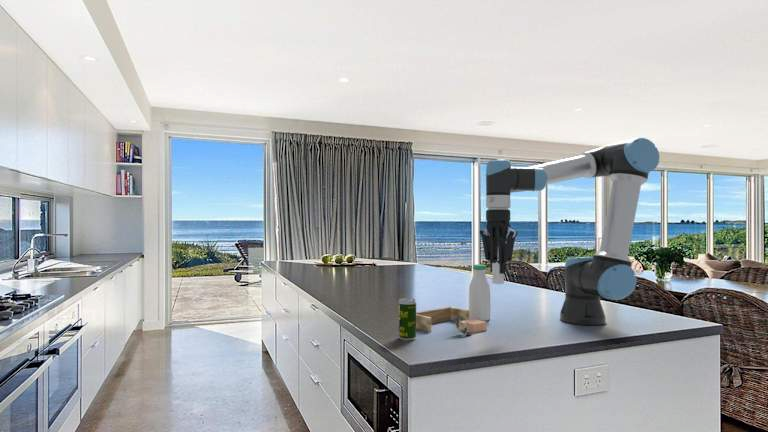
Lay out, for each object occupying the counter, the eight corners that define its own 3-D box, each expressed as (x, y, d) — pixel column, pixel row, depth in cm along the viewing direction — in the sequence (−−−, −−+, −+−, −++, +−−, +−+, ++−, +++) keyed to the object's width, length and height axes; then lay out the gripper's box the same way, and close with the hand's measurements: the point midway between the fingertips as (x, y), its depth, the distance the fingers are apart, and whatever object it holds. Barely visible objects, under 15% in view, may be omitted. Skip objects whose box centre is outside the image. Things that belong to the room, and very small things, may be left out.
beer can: (405, 335, 146) (405, 297, 146) (419, 338, 143) (419, 299, 143) (395, 338, 142) (395, 299, 142) (409, 341, 138) (409, 301, 139)
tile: (486, 331, 153) (486, 321, 153) (474, 333, 150) (474, 324, 150) (472, 327, 158) (472, 318, 158) (460, 330, 155) (460, 321, 155)
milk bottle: (490, 322, 165) (490, 266, 165) (468, 321, 167) (468, 265, 167) (490, 317, 173) (490, 264, 173) (469, 316, 174) (469, 263, 174)
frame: (469, 323, 163) (469, 310, 163) (428, 331, 151) (428, 318, 151) (450, 318, 170) (450, 306, 170) (409, 326, 158) (409, 313, 158)
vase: (448, 334, 147) (449, 315, 148) (459, 333, 151) (460, 314, 151) (461, 337, 143) (462, 318, 144) (472, 336, 147) (473, 317, 147)
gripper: (473, 209, 150) (473, 282, 149) (509, 208, 139) (509, 287, 139) (487, 209, 154) (487, 280, 154) (524, 208, 143) (524, 285, 143)
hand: (498, 283), depth 146 cm, fingers closed
